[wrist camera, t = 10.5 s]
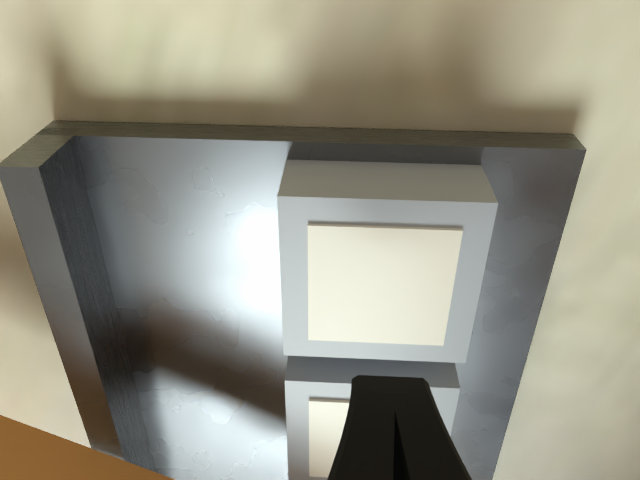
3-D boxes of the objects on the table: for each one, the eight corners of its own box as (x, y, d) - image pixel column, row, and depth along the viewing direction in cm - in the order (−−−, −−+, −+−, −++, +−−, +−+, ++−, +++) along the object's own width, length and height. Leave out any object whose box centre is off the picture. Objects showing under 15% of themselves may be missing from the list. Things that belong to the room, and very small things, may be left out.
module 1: (481, 165, 14) (499, 205, 12) (454, 315, 17) (465, 365, 15) (286, 159, 14) (276, 198, 13) (290, 308, 17) (283, 357, 15)
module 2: (450, 339, 17) (460, 391, 16) (432, 442, 20) (439, 496, 18) (291, 333, 18) (284, 383, 16) (294, 435, 20) (288, 488, 19)
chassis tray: (573, 134, 15) (627, 197, 12) (472, 510, 24) (488, 598, 21) (53, 120, 15) (-20, 177, 12) (152, 493, 25) (124, 576, 22)
